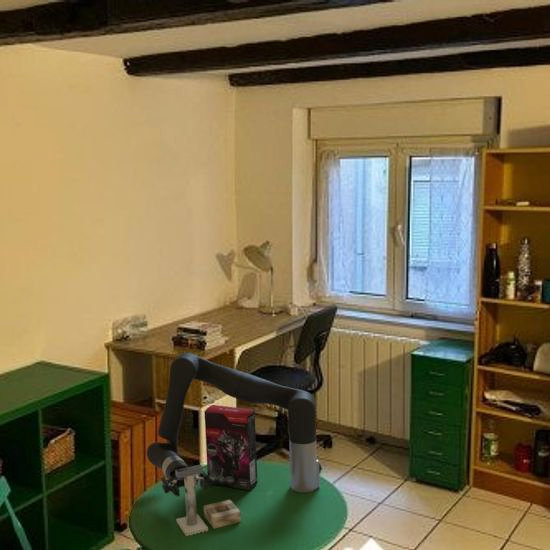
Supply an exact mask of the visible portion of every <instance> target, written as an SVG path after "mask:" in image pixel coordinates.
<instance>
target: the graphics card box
mask: <svg viewBox="0 0 550 550" xmlns="http://www.w3.org/2000/svg"><path fill="white" fill-rule="evenodd" d="M204 427H205V429H204V430H205V448H206V468H207V469H206V470H207V471H206V472H207V473H206V474H207V475H208V476H209V478H208V480H209V484H208V485H213V486H214V485H215V486H221V487H228V488H234V489H240V490H245V491H247V490H248V491H251V490H252V489H253V488H254V487H255V486H256V485H258V467H257V466H258V465H257V463H258V461H257V437H256V411H255V409H254V408H241V407H233V406H227V405H226V406H224V405H218V404H211V405H210V406H209V407H207V408H206V409H205V410H204Z"/></svg>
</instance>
